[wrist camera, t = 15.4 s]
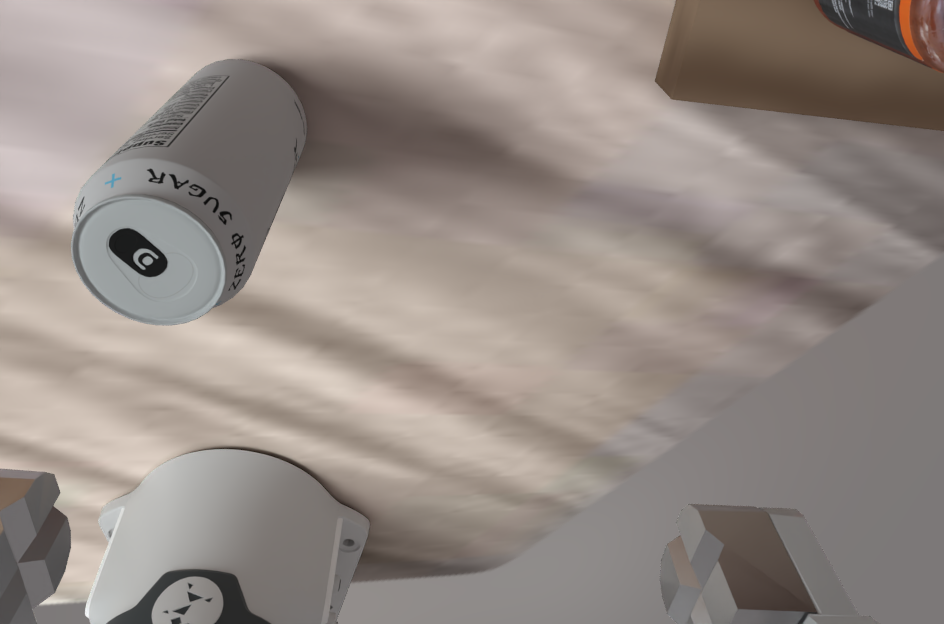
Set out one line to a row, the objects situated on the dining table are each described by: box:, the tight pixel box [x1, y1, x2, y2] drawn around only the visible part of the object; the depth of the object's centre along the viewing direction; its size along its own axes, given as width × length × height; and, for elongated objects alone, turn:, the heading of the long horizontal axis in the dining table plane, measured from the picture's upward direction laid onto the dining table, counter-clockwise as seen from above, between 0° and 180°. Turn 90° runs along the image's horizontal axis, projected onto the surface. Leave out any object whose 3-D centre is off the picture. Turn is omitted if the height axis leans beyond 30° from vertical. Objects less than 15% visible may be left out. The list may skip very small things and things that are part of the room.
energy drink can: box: [71, 59, 307, 325], centre depth 29 cm, size 6×6×15 cm
